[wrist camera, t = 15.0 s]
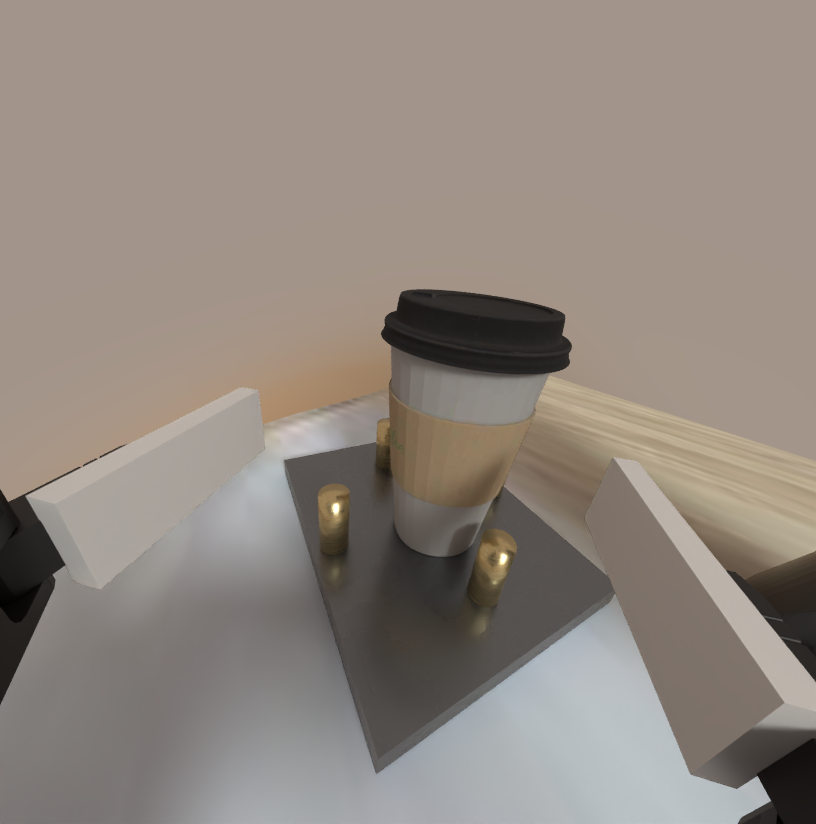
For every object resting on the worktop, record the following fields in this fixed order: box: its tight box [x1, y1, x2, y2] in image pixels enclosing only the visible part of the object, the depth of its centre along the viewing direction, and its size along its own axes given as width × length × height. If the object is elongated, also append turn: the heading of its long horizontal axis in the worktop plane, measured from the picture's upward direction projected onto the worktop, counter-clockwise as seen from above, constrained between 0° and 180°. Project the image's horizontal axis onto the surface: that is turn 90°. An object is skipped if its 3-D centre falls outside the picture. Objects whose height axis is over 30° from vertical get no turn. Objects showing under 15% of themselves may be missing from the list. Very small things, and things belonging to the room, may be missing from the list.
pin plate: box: [284, 418, 615, 774], centre depth 22 cm, size 20×16×6 cm
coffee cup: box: [381, 289, 572, 557], centre depth 19 cm, size 9×9×15 cm
